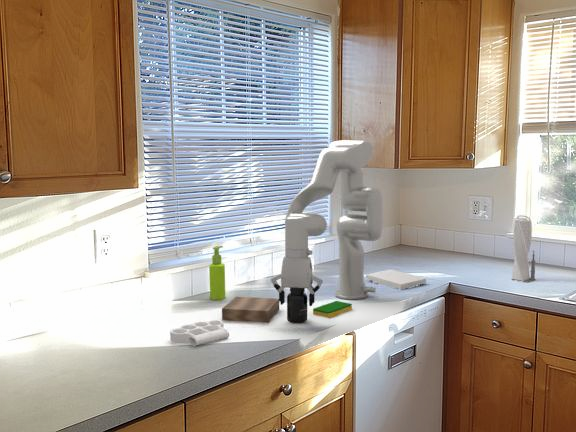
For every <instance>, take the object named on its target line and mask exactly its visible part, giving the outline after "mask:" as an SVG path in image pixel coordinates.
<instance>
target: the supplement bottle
mask: <svg viewBox="0 0 576 432" xmlns="http://www.w3.org/2000/svg"><path fill="white" fill-rule="evenodd" d="M305 289H306V288H297V287H293V288H289V293H287V295H286V320H287V321H288V323H292V324H305V323H306V322H307V321H308V295H307V293H305Z"/></svg>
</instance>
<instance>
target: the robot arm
mask: <svg viewBox="0 0 576 432" xmlns="http://www.w3.org/2000/svg"><path fill="white" fill-rule="evenodd" d="M374 153H375V151H374V146H373V144H372V142H370V141H369V140H364V139H363V140H362V139H359V140H358V139H357V140H352V139H351V140H349V139H347V140H345V139H342V140H335V141H331V142H330V144H328V147H327V148H324V149H322V150H321V151H320V153H319V154H318V155H319V156H318V158H317V160H316V164H315V166H314V169H313V173H312V175H311V179H310V182H309V184H308V185H306V186H305V187H304V188H303V189H302V190H300V191H299V192H298V193H297V194H296V196H294V197H293V198H292V200H291V201H290V204H289V206H288V209H287V212H286V216H285V219H284V220H285V221H284V227H285V228H284V242H285V243H284V244H285V245H284V256H283V258H282V262H281V263H282V264H281V271H280V272H281V273H280V274H278V275H275V276H274V277H272V278H271V279H270V281H271V284H272V285H273V288H274V289H275V290H276V291H277V292H278V299H279V302H280V305H282V306H283V305H284V304H285V301H286V300H285V299H286V297H285V296H286V295H285V293H286V292H285V290H284V289H285V288H288V289H290V288H293V287H297V288H304V289H307V291H308V292H309V295H308V306H309V307H313V304H315V293H316V292H317V291H318V290H319V289H320V287H321V285H322V284H323V282H324V281H323V279H321V278H319V277H317V276H316V275H314V273H313V265H312V258H311V257H310V256H311V255H312V256H313V250H310V249H309V237H319V236H321V235H323V234H325V231H326V230H327V221H326V218H325V217H324V216H323V215H321V214H319V213H308V212H304V210H305V209H306V208H307V207H308V206H309V205H311V204H312V203H315V202H316V201H319V200H321V199H323V198H326V197H328V196H330V195H331V194H332V193H333V192H334V189H335V186H336V183H337V180H338V177H339V174H340V205H341V207H342V209H344V210H346V211H348V212H349V211H350V212H361V213H362V212H363V213H366V215H365V214H353V213H352V214H351V213H350V214H346V213H345V214H343V215H340V217H338V219H337V221H336V234H337V237H338V238H337V239H338V252H339V253H338V257H339V258H338V260H339V261H338V267H339V269H338V276H339V277H338V279H339V281H338V282H339V283H338V290H336V291H334V295H335V297H337V298H339V299H343V300H344V299H345V300H361V299H366V298H367V297H368V296H369V293H373V294H375V293H376V287H374V286H367V285H366V282H365V249H364V247H363V244H362V242H361V241H366V242H376V241H378V240H379V239H380V238H381V237H382V235H383V234H382V233H383V219H384V218H383V216H384V215H383V214H384V213H383V211H384V210H383V209H384V208H383V207H384V199H383V194H382V192H381V191H380V189H379V188H378V187H376V186H368V185H367V186H365V185H364V172H363V169H362V168H364V167H365V166H367V165H369V163H371V161H372V160H373V158H374ZM278 280H280V284H279V283H278ZM313 282H315V283H317V284H316V286H315V287H314V286H313Z"/></svg>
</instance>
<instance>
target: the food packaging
mask: <svg viewBox="0 0 576 432" xmlns="http://www.w3.org/2000/svg"><path fill="white" fill-rule="evenodd" d="M365 278H366V279H367V280H370V281H371V282H372V283H373V282H375V283H374V284H377V283H379V284H383V285H386V286H385V287H387V286H390V287H389V288H391V287H394V288H393V289H395V288H398V289H404V290H406V289H405V288H408V289H410V288H409V287H413V286H416V285H419V286H421V285H424V284H427V278H426V277H421V276H418V275H415V274H414V275H413V274H410V273H406V272H404V271H403V272H402V271H398V270H395V269H391V268H390V269H386V270H381V271H376V272H373V273H372V272H371V273H367V274H365ZM379 284H378V285H379ZM420 284H421V285H420ZM383 285H382V286H383ZM413 288H414V287H413ZM398 289H397V290H398Z"/></svg>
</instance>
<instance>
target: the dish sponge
mask: <svg viewBox="0 0 576 432" xmlns="http://www.w3.org/2000/svg"><path fill="white" fill-rule="evenodd" d="M352 305H353V304H352V303H350V302H349V303H348V302H343V301H339V300H334V301H332V302H329V303H327V304H323V305H320V306H318V307H314V308H312V315H314V316H319V317H323V318H327V319H328V318H329V319H330V318H333V317H335V316H338V315H341V314H343V313H346V312H349V311H352V309H353V306H352Z"/></svg>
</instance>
